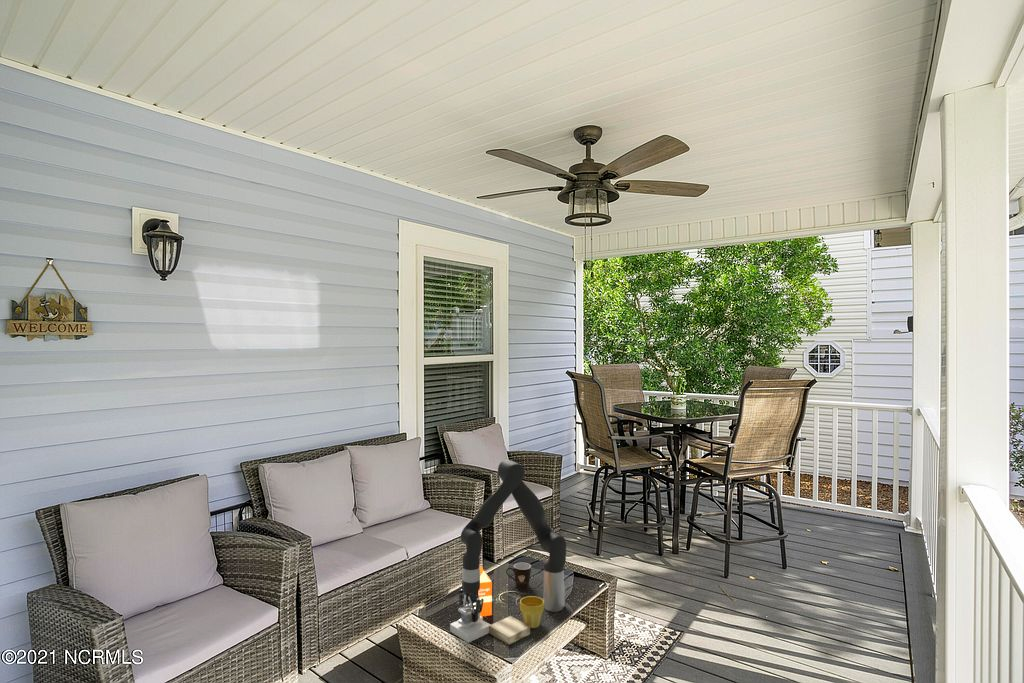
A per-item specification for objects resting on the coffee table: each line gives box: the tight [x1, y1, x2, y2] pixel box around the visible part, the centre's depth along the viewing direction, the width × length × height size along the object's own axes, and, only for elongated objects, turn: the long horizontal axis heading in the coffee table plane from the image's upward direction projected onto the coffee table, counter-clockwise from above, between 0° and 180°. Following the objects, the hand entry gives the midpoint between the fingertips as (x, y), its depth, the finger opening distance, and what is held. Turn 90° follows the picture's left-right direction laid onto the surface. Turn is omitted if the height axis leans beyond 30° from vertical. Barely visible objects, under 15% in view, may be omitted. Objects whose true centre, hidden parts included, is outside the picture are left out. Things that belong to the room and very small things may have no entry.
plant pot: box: [519, 595, 545, 629], centre depth 228 cm, size 10×10×10 cm
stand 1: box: [449, 619, 491, 643], centre depth 222 cm, size 12×12×3 cm
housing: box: [457, 603, 484, 627], centre depth 222 cm, size 9×5×6 cm, turn 133°
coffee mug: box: [505, 562, 532, 590], centre depth 265 cm, size 12×9×10 cm
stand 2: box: [488, 615, 531, 646], centre depth 221 cm, size 12×12×3 cm
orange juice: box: [478, 564, 493, 617], centre depth 239 cm, size 8×9×20 cm
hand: (470, 618), depth 222 cm, fingers closed on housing, 5 cm apart
